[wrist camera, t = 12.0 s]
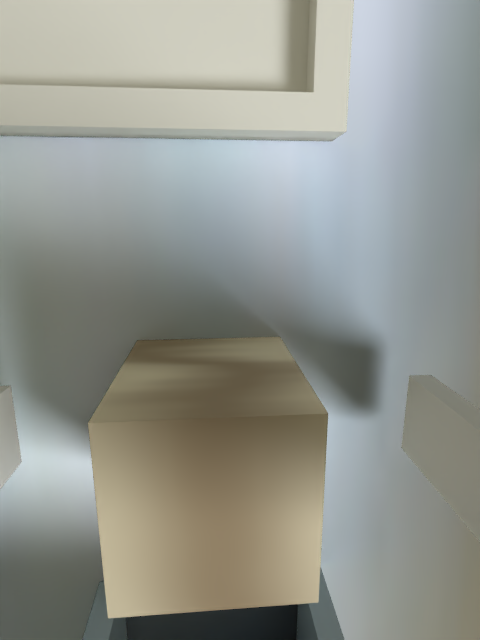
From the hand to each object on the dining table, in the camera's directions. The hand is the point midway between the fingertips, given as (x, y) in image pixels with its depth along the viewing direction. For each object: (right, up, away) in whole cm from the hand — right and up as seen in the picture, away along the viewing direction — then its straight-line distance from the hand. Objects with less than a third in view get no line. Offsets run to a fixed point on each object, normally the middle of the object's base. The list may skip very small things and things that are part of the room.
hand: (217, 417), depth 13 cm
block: (0, 0, +1) cm, 1 cm away
